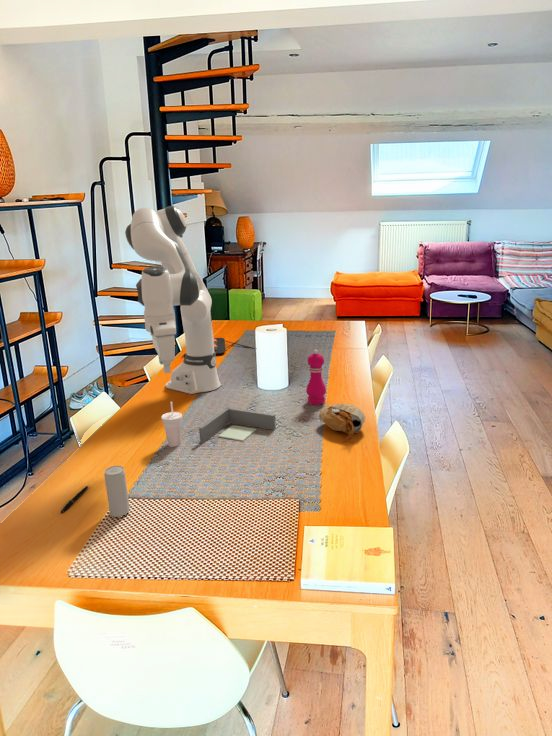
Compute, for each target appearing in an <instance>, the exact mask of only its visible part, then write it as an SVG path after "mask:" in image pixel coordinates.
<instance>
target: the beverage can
mask: <svg viewBox="0 0 552 736" xmlns="http://www.w3.org/2000/svg"><path fill="white" fill-rule="evenodd" d="M125 471H126V470H125V468H124V467H123V466H121V465H113V466H110V467H107V468H106V469H105V470H104V474H103V475H104V476H103V477H104V483H105V489H106V490H105V491H106V495H107V496H106V497H107V502H108V503H107V504H108V509H109V510H108V511H109V515H110V516H111V517H113V516H114V517H113V518H116V517H119V516H123V515H125V514H127V513H128V512H129V513H130V509H131V508H130V501H129V493H128V492H129V491H128V485H127V477H126V472H125ZM129 513H128V514H129ZM128 514H127V515H128ZM125 516H126V515H125ZM123 517H124V516H123ZM119 518H120V517H119Z"/></svg>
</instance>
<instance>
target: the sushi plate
mask: <svg viewBox="0 0 552 736" xmlns="http://www.w3.org/2000/svg"><path fill="white" fill-rule="evenodd" d="M213 340H214V351H215V353H216V355H221V354H224V353H226V349H227V348H230V347H231V346H233V345H236V346H237V345H238V346H241V347H244V348H248V349H252V350H253V349H254V350H256V349H255V348H256V347H252V346H248V345H244V344H240V343H238V342H239V341H241V339H237V340H236V341H235V342H233V341H232V342H231V341H228V340H225V338H224V337H213ZM226 343H230V345H228V346H226Z"/></svg>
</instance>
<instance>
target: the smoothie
mask: <svg viewBox="0 0 552 736" xmlns="http://www.w3.org/2000/svg"><path fill="white" fill-rule="evenodd" d="M169 403H170V410H171V411H170V412H166V413H164V414H162V415H161V422H162V423H163V426H164V428H163V429H164V431H165V435H166V439H167V444H168V446H169V447H170V448H171V447H172V448H173V447H178V446H180V445H181V440H182V439H181V437H182V419H183V414H182V412H178V411H174V407H173V401H170V402H169Z"/></svg>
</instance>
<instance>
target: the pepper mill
mask: <svg viewBox="0 0 552 736" xmlns="http://www.w3.org/2000/svg"><path fill="white" fill-rule="evenodd" d="M307 364H308V366H309V367H308V371H309V373H310V376H309V377H310V378H309V381H308V384H307V386H306V390H305V392H306V394H307V395H308V396H307V402H308V404H310V405H313V406H314V405H315V406H317V405H323V404H324V403H325V402H326V400H325V399H326V398H325V395H326V393H327V388H326V384H325V382H324V380H323V376H322V372H323V370H324V366H323V365H324V364H325V358H324V356H323V355H322V354H320V353H319V350H318V349H314V350H313V353H312V354H310V355H309V356H308V357H307Z"/></svg>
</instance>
